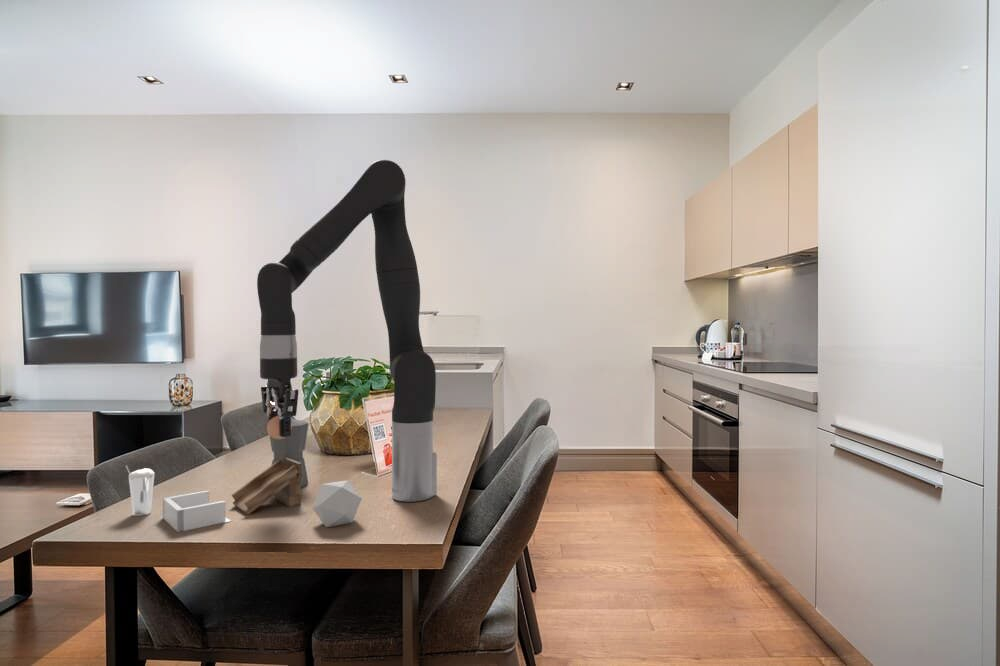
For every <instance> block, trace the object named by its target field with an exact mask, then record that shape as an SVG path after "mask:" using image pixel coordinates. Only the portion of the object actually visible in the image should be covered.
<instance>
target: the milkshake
mask: <svg viewBox="0 0 1000 666" xmlns="http://www.w3.org/2000/svg"><path fill="white" fill-rule="evenodd" d="M125 468H126V470H127V472H128V483H129V491H130V501H131V502H130V503H131V514H132V516H133V517H143V516H147V515H149V514H151V513H152V508H153V507H152V505H153V504H152V503H153V495H154V494H153V492H154V483H155V472H154V470H153V469H151V468H146V467H144V468H142V469H137V470H134V471H132V472H131V471H130V469H129V466H128V465H125Z"/></svg>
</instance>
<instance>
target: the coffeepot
mask: <svg viewBox="0 0 1000 666" xmlns="http://www.w3.org/2000/svg"><path fill="white" fill-rule="evenodd" d="M291 425H292V429H291V435H290V436H288V437H285V438H283V439H274V438H272V437H271V436H270V435H269V440H270V446H271V448H270V449H271V451H272V452H273V459H272V462H271V465H273V464H274V463H276V462H277V461H278V460H281V461H282V463H283V458H285V457H287V458H289V459H292V460H294V461H297V462H300V463H302V478H301V488H303V487H306V486H307V485H308V484H309V477H308V473H307V468H306V463H305V462H306V461H305V458H304V454H303V453H304V452H303V451H304V450H305V448H306V443H307V437H308V431H309V422H307V421H304V420H300V419H296V417H295V416H293V417H292V418H291Z"/></svg>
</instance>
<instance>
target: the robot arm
mask: <svg viewBox="0 0 1000 666" xmlns="http://www.w3.org/2000/svg"><path fill="white" fill-rule="evenodd" d="M406 183H407V182H406V177H405V172H404V171H403V168H401V166H400V165H398V163H396V162H395V161H392V160H389V159H380V160H376V161H374V162H372V163H371V164H370V165H369V166H368V167H367V169H366V170H365V171H364V172H363V173H362V175H361V176H360V177H359V179H358V180H357V181H356V182H355V184H354V185H353V186H352V187H351V188H350V190H349V191H348V192H346V194H345V195H344V196H343V197H342V198H341V200H340V201H338V203H337V204H335V206H333V207H332V208H331V209H330V210H329V211H328V212H327V213H326V214H324V216H323V217H322V218H320V219H319V220H318V221H317V222H315V223H314V224H313V225H312V226H311V227H310V228H308V230H307V231H305V232H304V233H303V234H302V235H301V236H300V237H298V239H296V240H295V241H294V243H292V245H291V246H290V248H289V249H290V250H289V251H288V252H287V254H286V255H285V256H283V258H281V260H279V261H278V262H274V261H273V262H268V263H267V264H265V265H263V266H262V267H261V268H260V269H259V270H258V271H259V272H258V274H257V280H256V287H257V297H258V302H259V309H260V316H261V317H260V343H259V376H260V379H262V380H267V383H266V385H264V386H263V385H261V387H260V392H261V401H262V402H261V403H262V411H263V413H264V414H266V417H268V422H269V421H270V420H271V419H272V418H274V417H276V416H279V418H280V420H279V435H280V437H288V436H290V435H291V418H292V417H296V416H297V412H298V411H297V410H298V402H299V401H298V399H299V389H298V388H292V382H291V380H292V379H295V378H297V377H298V345H297V344H298V343H297V338H296V335H297V333H296V332H297V331H296V330H297V329H296V327H297V326H296V314H295V311H294V309H293V298H292V297H293V296H292V294H293V293H294V292H295V291H296V290H297V289H298V288H300V286H301V285H302V284H303V283H304V282H305V281H306V280H307V279H308V277H309V276H310V275H312V272H313V271H314V270H315V269H317V268H318V267H319V266H320V265H321V264H322V263H324V262H325V261H326V260H327V259H328V258H330V256H331V255H333V253H334V252H336V251H337V250H338V249H339V248H340V247H341V245H342V244H343V243H344V242H345V241H346V240H347V238H348V237H349V236H350V235H351V234H352V233H353V232H354V230H355V229H356V228H357V227H358V226H359V225H360V224H361V223H362V222H363V221H364V220H365V219H366V218H367V217H368V216H370V215H371V217H372V218H371V219H372V222H373V227H374V255H375V256H374V259H375V260H374V261H375V271H376V278H377V284H378V285H377V286H378V292H379V297H380V301H381V306H382V312H383V315H384V319H385V324H386V329H387V335H388V349H389V373H390V377H391V379H392V381H393V385H394V386H393V388H394V390H393V393H394V394H393V405H392V409H391V497H392V499H393V500H396V501H399V502H406V503H407V502H413V503H414V502H420V501H421V502H422V501H425V500H429V499H431V498H432V497H434V496H437V495H438V465H437V464H438V461H437V460H438V455H437V454H438V453H436V452H434V411H435V408H436V407H435V406H436V393H437V391H436V390H437V389H436V388H437V387H436V384H437V382H436V381H437V373H436V365H435V362H434V360H433V359H432V357H431V356H430V355H429V354H428V353H426V352H425V350H424V346H423V343H422V338H421V337H422V336H421V331H420V311H421V309H420V308H421V284H420V276H419V272H418V264H417V260H416V255H415V252H414V248H413V244H412V242H411V239H410V235H409V231H408V229H407V222H406V221H407V220H406V208H405V206H406V205H405V204H406V203H405V195H406V194H405V193H406V192H405V191H406Z"/></svg>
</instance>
